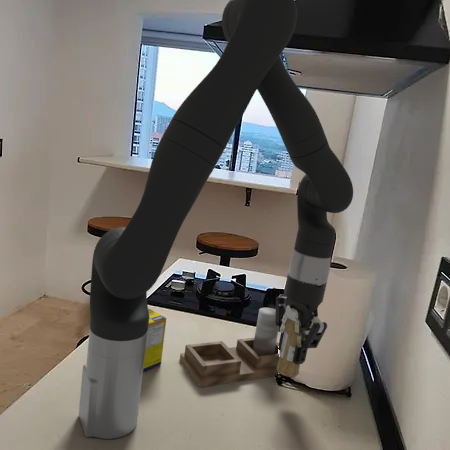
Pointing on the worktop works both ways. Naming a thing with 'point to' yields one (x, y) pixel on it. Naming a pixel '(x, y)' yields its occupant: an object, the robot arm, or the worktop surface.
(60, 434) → the worktop surface
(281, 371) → the sprinkles bottle
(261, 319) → the rack
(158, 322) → the supplement box
